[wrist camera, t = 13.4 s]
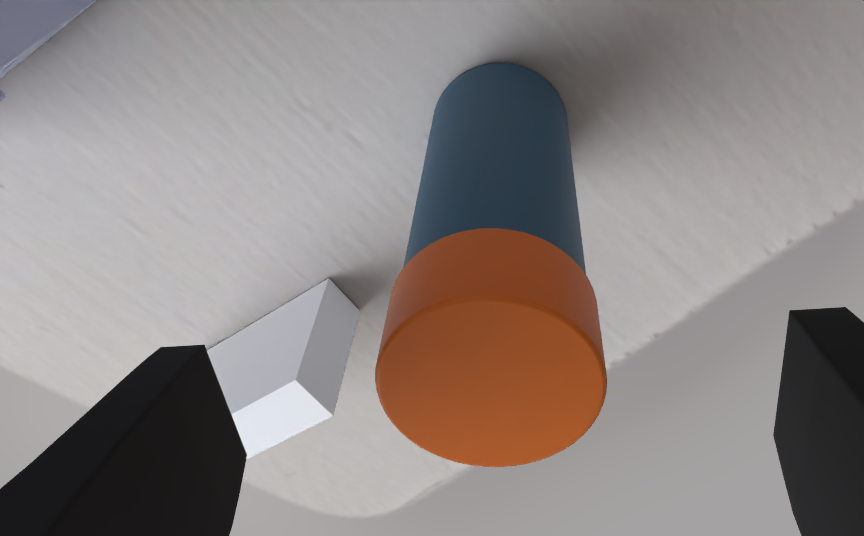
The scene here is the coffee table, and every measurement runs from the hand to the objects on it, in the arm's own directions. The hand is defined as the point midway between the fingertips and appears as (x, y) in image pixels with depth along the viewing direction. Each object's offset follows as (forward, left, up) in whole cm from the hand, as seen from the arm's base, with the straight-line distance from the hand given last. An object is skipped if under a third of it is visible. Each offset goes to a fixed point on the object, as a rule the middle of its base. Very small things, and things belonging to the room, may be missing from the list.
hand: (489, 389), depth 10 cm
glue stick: (0, 0, -8) cm, 8 cm away
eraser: (-2, +8, -8) cm, 12 cm away
